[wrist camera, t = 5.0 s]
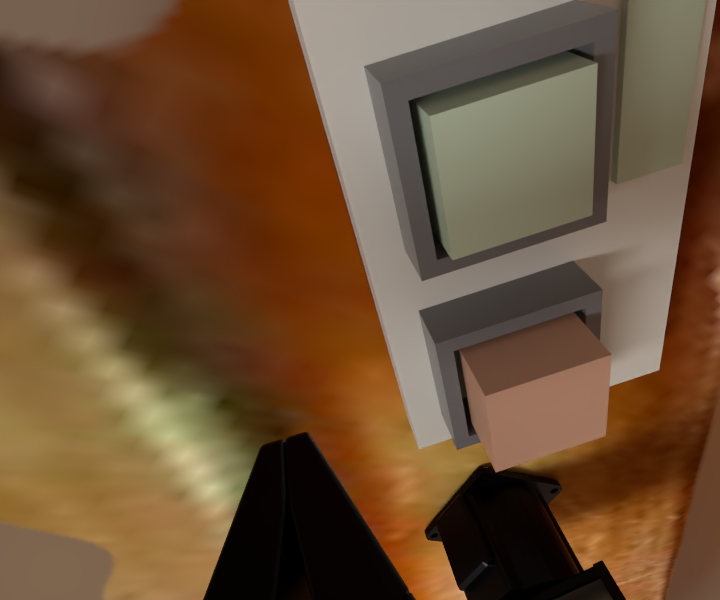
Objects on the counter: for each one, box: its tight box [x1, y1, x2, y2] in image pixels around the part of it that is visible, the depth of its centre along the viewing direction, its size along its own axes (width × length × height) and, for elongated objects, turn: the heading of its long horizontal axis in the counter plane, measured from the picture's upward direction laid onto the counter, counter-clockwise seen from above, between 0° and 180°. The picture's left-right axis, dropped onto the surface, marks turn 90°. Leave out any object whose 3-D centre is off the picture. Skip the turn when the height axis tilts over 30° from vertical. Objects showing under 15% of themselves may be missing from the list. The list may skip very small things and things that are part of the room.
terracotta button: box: [459, 312, 612, 472], centre depth 20 cm, size 4×4×2 cm
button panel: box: [288, 0, 717, 450], centre depth 17 cm, size 28×12×4 cm, turn 14°
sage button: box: [408, 51, 598, 260], centre depth 15 cm, size 4×4×2 cm
